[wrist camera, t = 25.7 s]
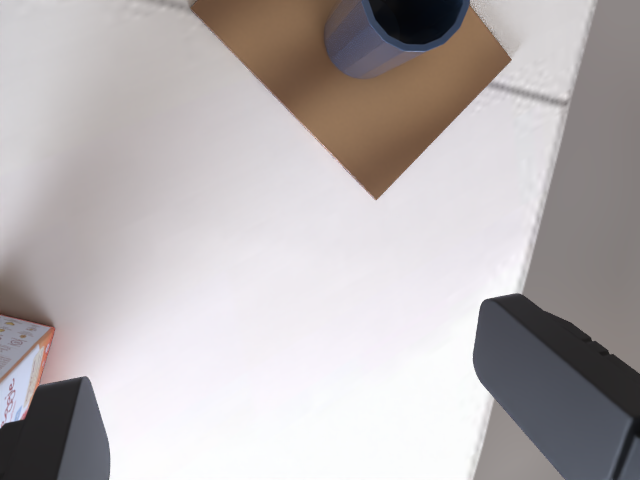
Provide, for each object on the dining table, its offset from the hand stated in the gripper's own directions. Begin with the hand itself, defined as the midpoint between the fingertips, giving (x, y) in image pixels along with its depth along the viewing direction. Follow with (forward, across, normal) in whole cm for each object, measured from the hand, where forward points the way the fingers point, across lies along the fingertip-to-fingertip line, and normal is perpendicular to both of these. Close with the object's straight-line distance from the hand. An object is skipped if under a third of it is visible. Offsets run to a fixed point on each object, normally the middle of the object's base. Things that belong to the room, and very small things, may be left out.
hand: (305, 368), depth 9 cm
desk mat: (+30, -12, -5) cm, 33 cm away
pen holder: (+29, -12, -5) cm, 32 cm away
